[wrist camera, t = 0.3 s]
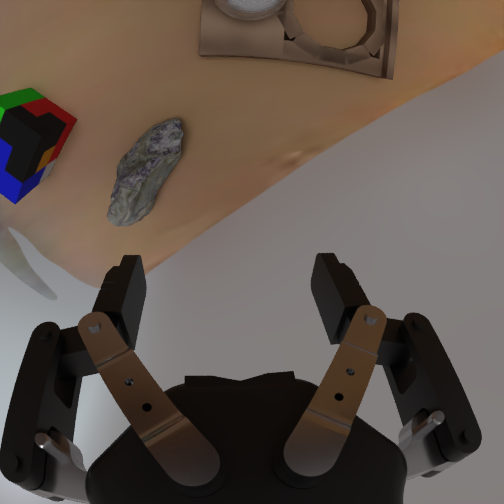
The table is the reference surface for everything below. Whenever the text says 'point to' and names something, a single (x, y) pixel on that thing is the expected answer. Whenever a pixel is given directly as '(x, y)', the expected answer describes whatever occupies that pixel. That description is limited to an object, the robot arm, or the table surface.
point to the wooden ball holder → (302, 39)
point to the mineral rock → (144, 172)
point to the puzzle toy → (29, 140)
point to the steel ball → (250, 8)
